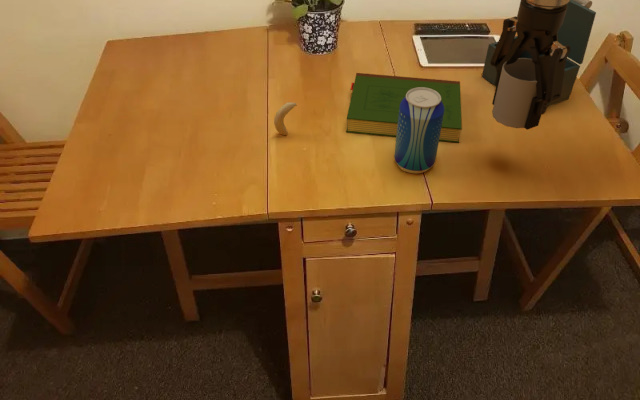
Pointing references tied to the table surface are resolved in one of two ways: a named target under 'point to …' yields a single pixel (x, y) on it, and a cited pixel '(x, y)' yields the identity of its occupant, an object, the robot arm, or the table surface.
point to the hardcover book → (398, 104)
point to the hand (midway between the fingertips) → (514, 114)
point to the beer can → (418, 130)
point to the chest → (570, 66)
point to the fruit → (280, 117)
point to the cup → (515, 93)
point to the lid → (577, 28)
